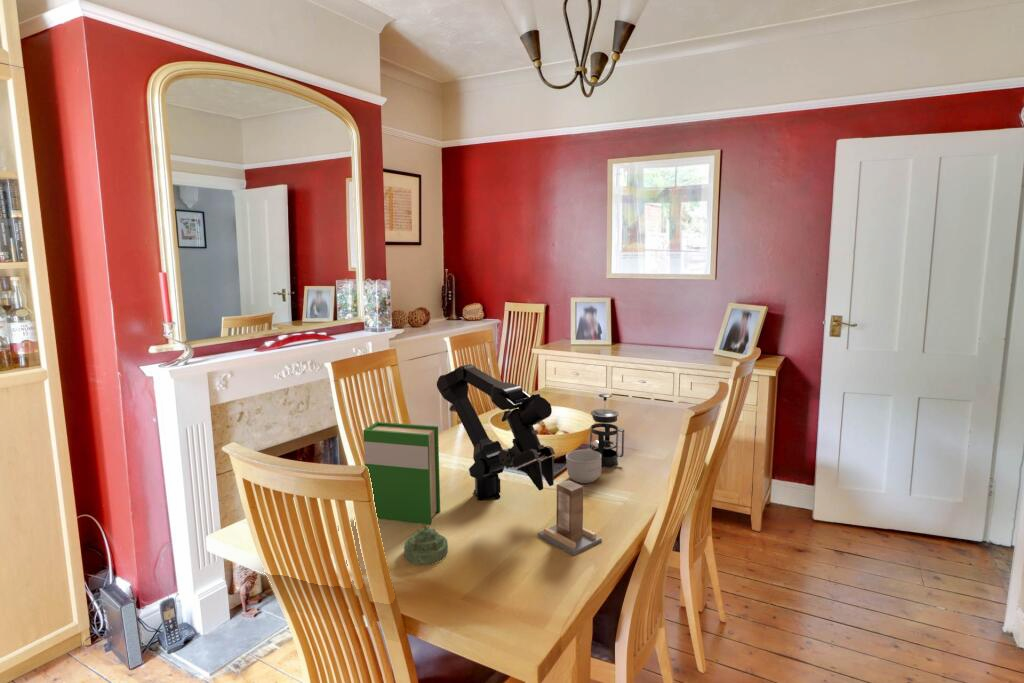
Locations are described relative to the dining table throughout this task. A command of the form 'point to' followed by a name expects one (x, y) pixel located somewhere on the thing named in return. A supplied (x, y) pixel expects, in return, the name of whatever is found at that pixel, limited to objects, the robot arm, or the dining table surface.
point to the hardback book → (403, 470)
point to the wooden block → (569, 510)
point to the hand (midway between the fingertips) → (546, 487)
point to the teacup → (584, 465)
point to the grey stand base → (567, 544)
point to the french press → (606, 435)
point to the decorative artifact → (425, 547)
